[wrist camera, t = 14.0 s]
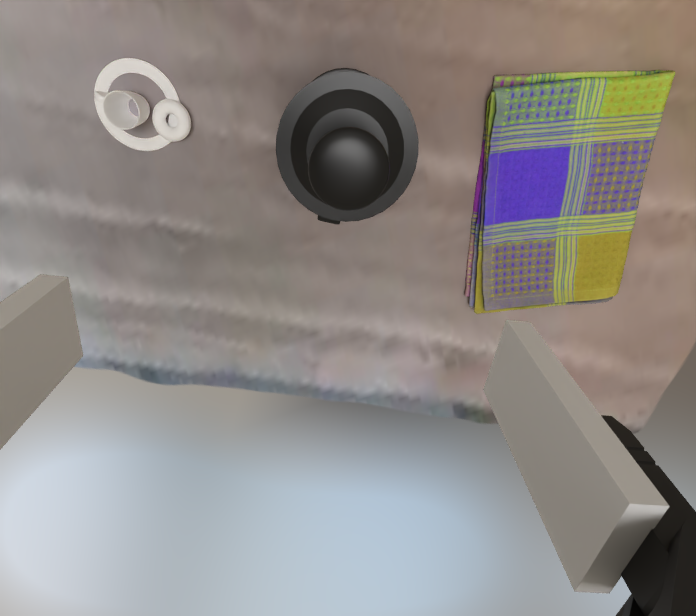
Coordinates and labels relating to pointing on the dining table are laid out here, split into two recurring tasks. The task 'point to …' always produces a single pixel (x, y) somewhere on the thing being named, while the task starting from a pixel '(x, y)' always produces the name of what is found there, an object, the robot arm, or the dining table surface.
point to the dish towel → (560, 186)
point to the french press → (347, 146)
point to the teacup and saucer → (139, 107)
